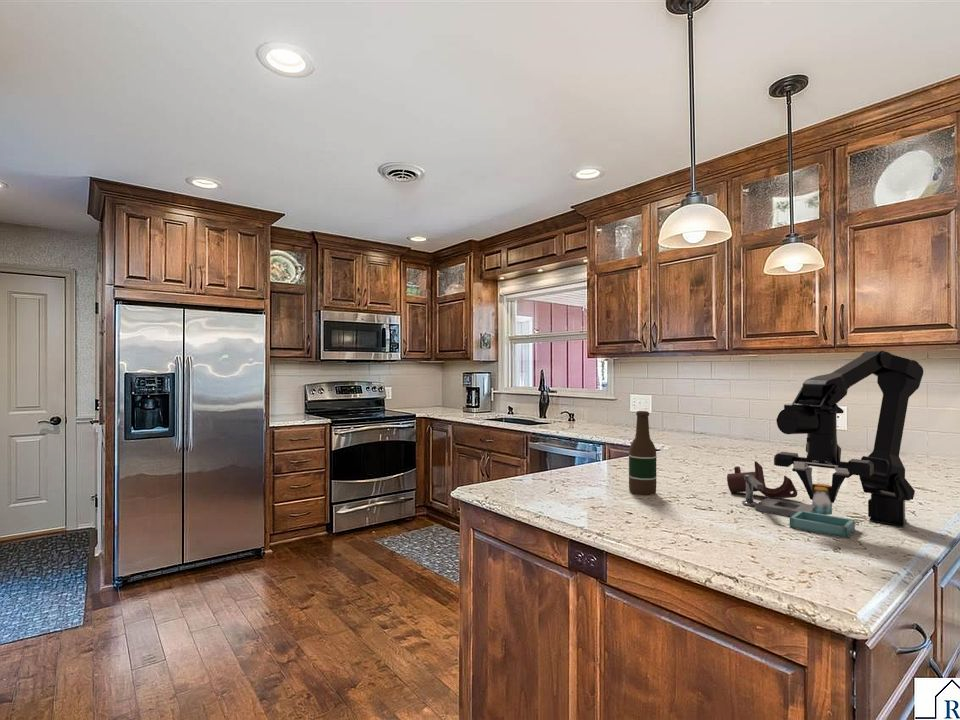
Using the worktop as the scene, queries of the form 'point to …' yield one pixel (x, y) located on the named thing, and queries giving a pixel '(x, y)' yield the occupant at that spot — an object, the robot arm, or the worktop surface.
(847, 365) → the robot arm
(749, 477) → the bar
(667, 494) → the worktop surface
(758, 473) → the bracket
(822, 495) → the jar with golden lid
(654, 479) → the beer bottle
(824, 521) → the tray
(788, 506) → the hitch plate
